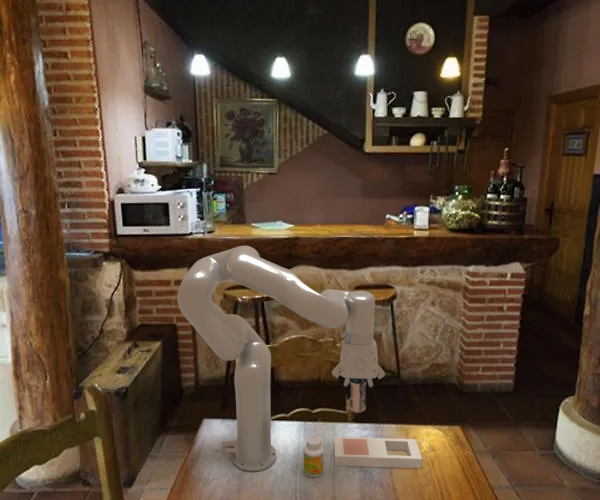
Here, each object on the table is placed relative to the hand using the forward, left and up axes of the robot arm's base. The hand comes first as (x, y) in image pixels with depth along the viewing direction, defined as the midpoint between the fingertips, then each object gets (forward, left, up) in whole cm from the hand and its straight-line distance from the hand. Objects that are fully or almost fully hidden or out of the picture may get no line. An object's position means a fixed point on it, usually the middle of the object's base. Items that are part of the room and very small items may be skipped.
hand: (357, 396), depth 135 cm
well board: (+6, 0, -19) cm, 20 cm away
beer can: (0, 0, -4) cm, 4 cm away
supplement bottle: (-12, -7, -19) cm, 24 cm away
